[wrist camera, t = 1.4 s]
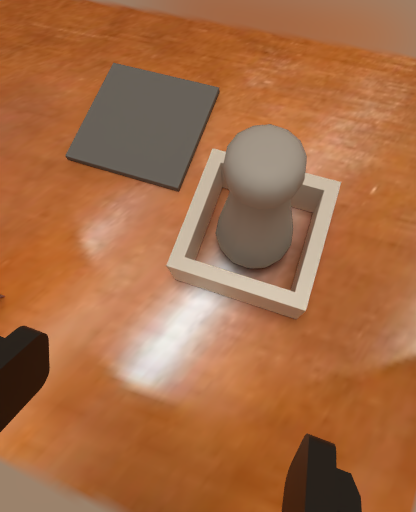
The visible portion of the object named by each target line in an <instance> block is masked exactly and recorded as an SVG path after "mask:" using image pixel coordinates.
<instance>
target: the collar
mask: <svg viewBox="0 0 416 512" xmlns="http://www.w3.org/2000/svg"><path fill="white" fill-rule="evenodd" d="M225 154H226V152H224V151H221V150H217V149H212V151H211V154H210V156H209V159H208V161H207V164H206V167H205V169H204V172H203V174H202V177H201V179H200V182H199V184H198V187H197V189H196V192H195V195H194V197H193V200H192V202H191V205H190V207H189V210H188V212H187V215H186V217H185V220H184V222H183V225H182V228H181V230H180V233H179V235H178V238H177V240H176V243H175V245H174V248H173V250H172V253H171V255H170V258H169V261H168V263H167V267H168V269H169V271H170V272H171V274H172V275H173V277H174V278H175V280H178V281H181V282H184V283H187V284H190V285H194V286H197V287H200V288H203V289H206V290H209V291H212V292H215V293H218V294H221V295H224V296H227V297H230V298H233V299H236V300H239V301H242V302H245V303H248V304H251V305H254V306H257V307H260V308H263V309H266V310H269V311H272V312H275V313H278V314H281V315H284V316H288V317H291V318H294V319H297V318H298V317H299V316H301V315H302V314H303V313H304V312H305V311H306V308H307V305H308V301H309V297H310V294H311V290H312V286H313V283H314V279H315V275H316V272H317V268H318V265H319V261H320V257H321V254H322V250H323V246H324V243H325V239H326V235H327V232H328V228H329V224H330V221H331V217H332V214H333V210H334V206H335V203H336V199H337V195H338V192H339V188H340V184H341V182H338V181H335V180H331V179H327V178H323V177H319V176H316V175H312V174H308V173H305V179H304V182H303V184H302V186H301V187H300V188H299V190H298V191H297V192H296V194H295V195H294V196H293V198H292V199H290V201H291V207H294V208H298V209H301V210H305V211H308V212H312V213H313V215H312V219H311V222H310V226H309V229H308V232H307V236H306V239H305V243H304V246H303V250H302V253H301V257H300V260H299V263H298V267H297V270H296V274H295V277H294V281H293V284H292V287H291V291H290V290H287V289H283V288H280V287H277V286H274V285H271V284H268V283H265V282H261V281H258V280H255V279H252V278H249V277H246V276H243V275H239V274H236V273H233V272H230V271H227V270H224V269H221V268H217V267H214V266H211V265H208V264H205V263H202V262H198V261H195V259H196V257H197V254H198V251H199V249H200V246H201V243H202V241H203V238H204V235H205V233H206V230H207V227H208V225H209V222H210V219H211V216H212V214H213V211H214V208H215V206H216V203H217V200H218V198H219V195H220V192H221V190H222V187H223V188H226V189H228V187H227V184H226V181H225V178H224V174H223V169H222V168H223V163H224V159H225Z"/></svg>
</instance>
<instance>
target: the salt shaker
mask: <svg viewBox="0 0 416 512" xmlns="http://www.w3.org/2000/svg"><path fill="white" fill-rule="evenodd" d="M306 158H307V156H306V153H305V151H304V148H303V146H302V143H301V141H300V140H299V139H298V138H297V137H295V136H294V135H293V134H292V133H291V132H290V131H288V130H287V129H284V128H281V127H277V126H274V125H271V124H269V125H257V126H252V127H250V128H248V129H246V130H244V131H241V132H239V133H238V134H237V135H236V136H235V137H234V139H233V140H232V141H231V142H230V144H229V145H228V146H227V150H226V154H225V159H224V163H223V168H222V169H223V174H224V178H225V181H226V184H227V187H228V190H229V191H230V193H229V196H228V198H227V200H226V203H225V205H224V207H223V210H222V212H221V214H220V217H219V220H218V225H217V229H216V236H217V239H218V242H219V245H220V249H221V250H222V251H223V252H224V254H225V255H226V256H227V257H228V258H229V259H230V260H231V261H232V262H233V263H235V264H238V265H241V266H243V267H246V268H248V269H249V268H266V267H268V266H269V265H271V264H273V263H275V262H277V261H279V260H280V259H281V258H282V257H283V255H284V254H285V253H286V251H287V250H288V248H289V247H290V246H291V242H292V234H293V222H292V211H291V201H290V199H292V198H293V196H294V195H295V194H296V192H297V191H298V190H299V188H300V187H301V186H302V184H303V182H304V179H305V171H306Z"/></svg>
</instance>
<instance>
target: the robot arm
mask: <svg viewBox="0 0 416 512" xmlns="http://www.w3.org/2000/svg"><path fill="white" fill-rule="evenodd" d="M48 374H49V340H48V336H47V334H45V333H42V332H40V331H37V330H34V329H32V328H29V327H27V326H21V327H19V328H17V329H16V330H15V331H13V332H12V333H11V334H10V335H8V336H7V337H6V338H3V337H1V336H0V432H1V431H2V430H3V429H4V428H5V427H6V426H7V425H8V423H9V422H10V421H11V420H12V419H13V418H14V417H15V416H16V415H17V414H18V413H19V412H20V410H21V409H22V408H23V407H24V406H25V405H26V404H27V403H28V402H29V401H30V400H31V399H32V397H33V396H34V395H35V394H36V393H37V392H38V391H39V390H40V389H41V388H42V386H43V385H44V383H45V381H46V379H47V377H48ZM282 512H362V509H361V497H360V494H359V492H358V489H357V487H356V485H355V482H354V480H353V477H352V475H351V473H348V472H345V471H343V470H340V469H338V468H336V447H335V444H333V443H331V442H328V441H326V440H323V439H320V438H318V437H315V436H312V435H310V434H306V435H305V436H304V438H303V440H302V442H301V444H300V446H299V448H298V451H297V453H296V455H295V457H294V459H293V461H292V463H291V465H290V467H289V470H288V474H287V477H286V482H285V487H284V496H283V505H282Z"/></svg>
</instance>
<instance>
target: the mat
mask: <svg viewBox="0 0 416 512" xmlns="http://www.w3.org/2000/svg"><path fill="white" fill-rule="evenodd" d="M218 94H219V87H214V86H210V85H206V84H202V83H197V82H193V81H189V80H185V79H180V78H176V77H172V76H168V75H163V74H159V73H155V72H151V71H146V70H142V69H138V68H133V67H129V66H125V65H121V64H116V63H113V65H112V67H111V69H110V71H109V72H108V74H107V76H106V78H105V80H104V82H103V84H102V86H101V88H100V90H99V92H98V94H97V96H96V98H95V99H94V101H93V103H92V105H91V107H90V109H89V111H88V113H87V115H86V117H85V119H84V121H83V123H82V125H81V127H80V128H79V130H78V132H77V134H76V136H75V138H74V140H73V142H72V144H71V146H70V148H69V150H68V152H67V154H66V158H67V159H68V160H71V161H75V162H78V163H82V164H85V165H89V166H92V167H96V168H99V169H102V170H106V171H109V172H113V173H116V174H120V175H123V176H127V177H130V178H134V179H137V180H141V181H144V182H148V183H151V184H155V185H158V186H162V187H165V188H168V189H172V190H175V191H179V190H180V188H181V185H182V183H183V180H184V178H185V175H186V173H187V170H188V168H189V166H190V163H191V161H192V158H193V156H194V153H195V151H196V148H197V146H198V143H199V141H200V139H201V136H202V134H203V131H204V129H205V126H206V124H207V121H208V119H209V116H210V114H211V112H212V109H213V107H214V104H215V102H216V99H217V97H218Z"/></svg>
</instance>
